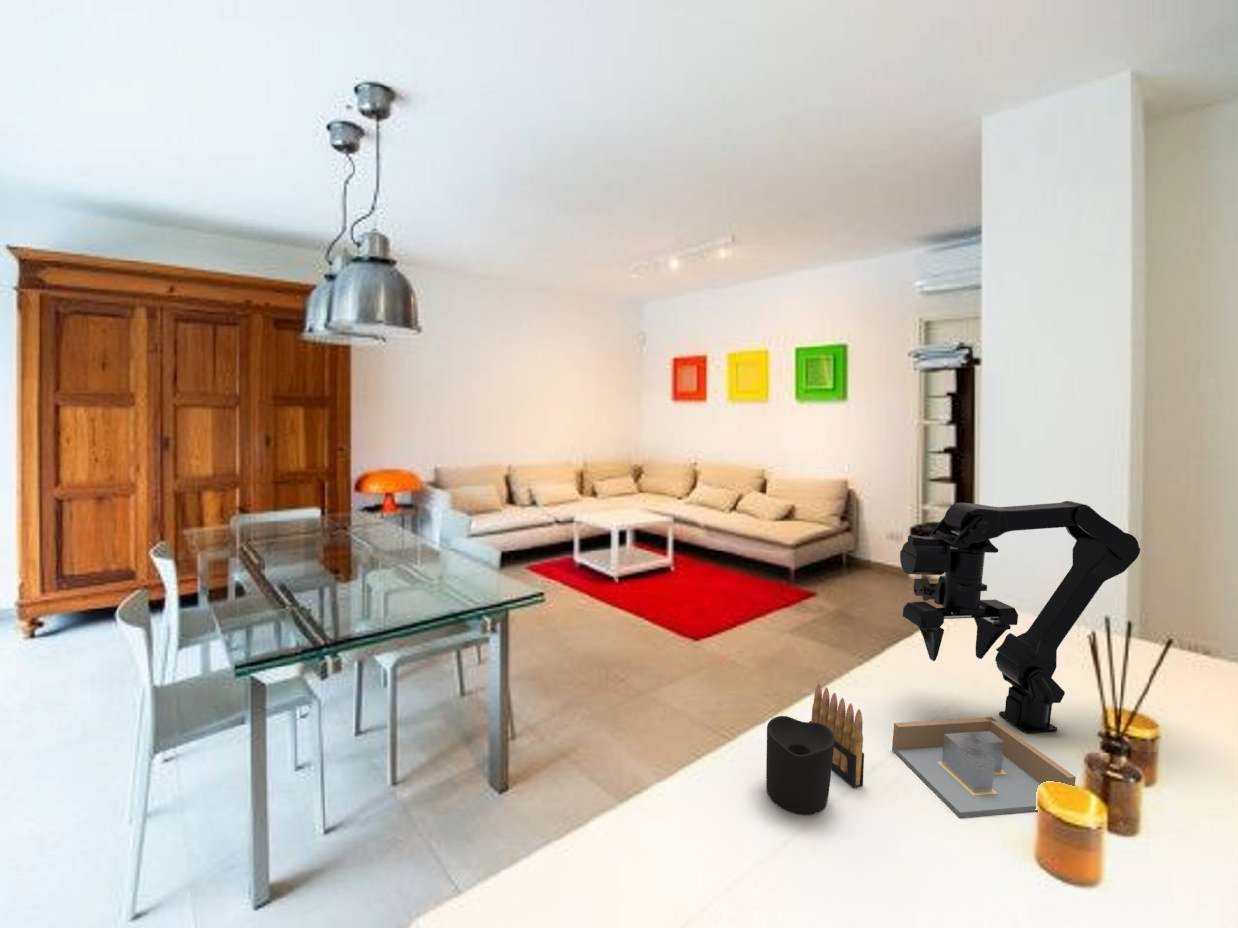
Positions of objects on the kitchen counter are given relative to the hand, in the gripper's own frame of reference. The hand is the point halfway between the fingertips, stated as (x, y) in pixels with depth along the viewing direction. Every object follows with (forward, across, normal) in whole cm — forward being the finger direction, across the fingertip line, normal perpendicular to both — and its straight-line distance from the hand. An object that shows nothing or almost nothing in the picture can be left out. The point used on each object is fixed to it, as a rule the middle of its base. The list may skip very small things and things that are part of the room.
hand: (955, 658), depth 107 cm
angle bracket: (+11, +7, +16) cm, 21 cm away
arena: (+12, +7, +15) cm, 20 cm away
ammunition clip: (+12, +28, +10) cm, 32 cm away
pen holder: (+12, +37, +16) cm, 42 cm away
